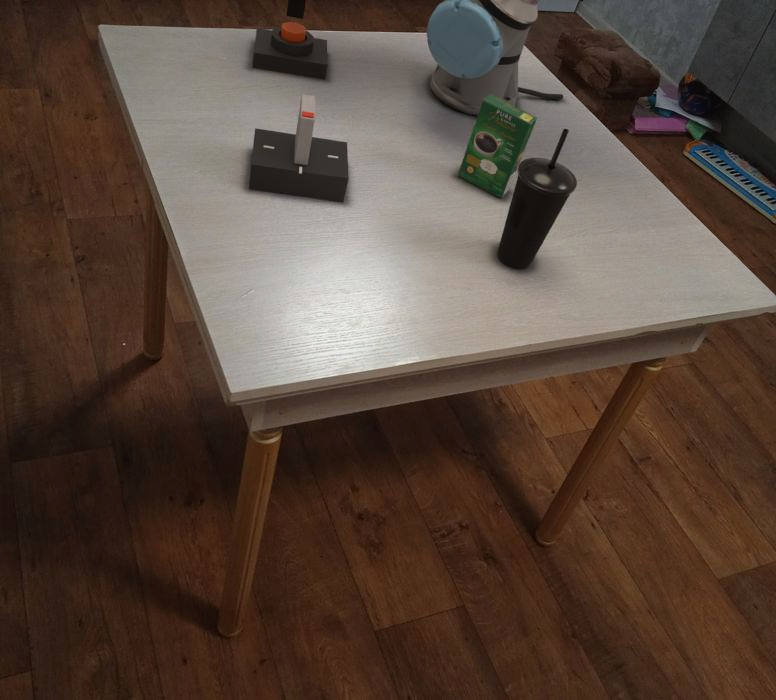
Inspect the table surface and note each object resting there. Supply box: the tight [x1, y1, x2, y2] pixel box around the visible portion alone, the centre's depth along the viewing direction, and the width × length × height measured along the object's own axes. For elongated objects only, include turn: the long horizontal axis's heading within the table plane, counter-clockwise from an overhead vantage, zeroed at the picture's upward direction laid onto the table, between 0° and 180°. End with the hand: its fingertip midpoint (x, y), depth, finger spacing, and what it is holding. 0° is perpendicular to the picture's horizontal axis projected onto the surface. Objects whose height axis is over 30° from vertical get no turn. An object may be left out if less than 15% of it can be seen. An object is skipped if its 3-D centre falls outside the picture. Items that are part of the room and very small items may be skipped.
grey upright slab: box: [294, 94, 316, 165], centre depth 111 cm, size 6×2×7 cm, turn 3°
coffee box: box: [457, 94, 538, 199], centre depth 120 cm, size 8×3×13 cm, turn 58°
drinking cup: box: [496, 128, 578, 270], centre depth 106 cm, size 8×8×20 cm
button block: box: [251, 25, 329, 80], centre depth 138 cm, size 12×9×4 cm
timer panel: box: [248, 127, 350, 203], centre depth 114 cm, size 13×10×4 cm
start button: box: [281, 21, 307, 43], centre depth 136 cm, size 4×4×2 cm
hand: (294, 15), depth 134 cm, fingers closed
